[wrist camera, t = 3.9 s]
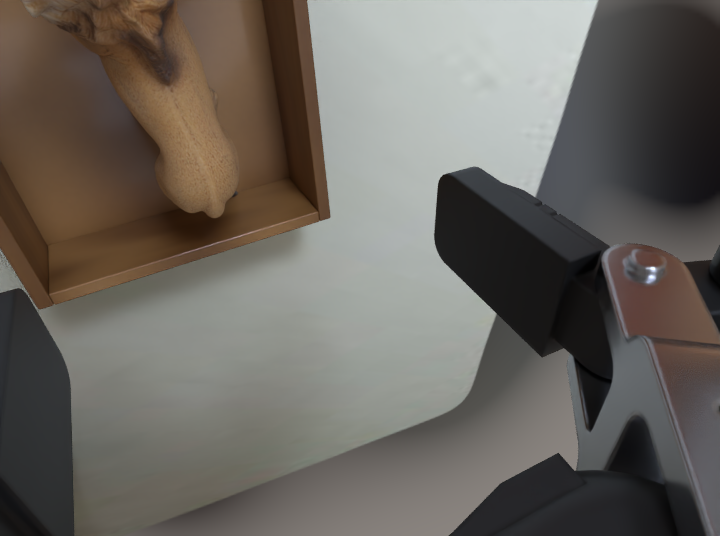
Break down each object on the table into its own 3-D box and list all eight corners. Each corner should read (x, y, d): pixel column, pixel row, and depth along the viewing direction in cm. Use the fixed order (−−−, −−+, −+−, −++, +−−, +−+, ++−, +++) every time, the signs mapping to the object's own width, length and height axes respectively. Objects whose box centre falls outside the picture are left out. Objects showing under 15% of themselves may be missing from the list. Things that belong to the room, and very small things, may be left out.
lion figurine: (-89, -113, 16) (-180, -112, 9) (62, -196, 16) (74, -249, 10) (190, 217, 26) (239, 326, 19) (277, 160, 26) (353, 249, 20)
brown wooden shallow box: (39, 254, 24) (38, 310, 21) (-232, -220, 14) (-314, -251, 11) (298, 181, 28) (331, 218, 25) (239, -224, 18) (281, -246, 15)
